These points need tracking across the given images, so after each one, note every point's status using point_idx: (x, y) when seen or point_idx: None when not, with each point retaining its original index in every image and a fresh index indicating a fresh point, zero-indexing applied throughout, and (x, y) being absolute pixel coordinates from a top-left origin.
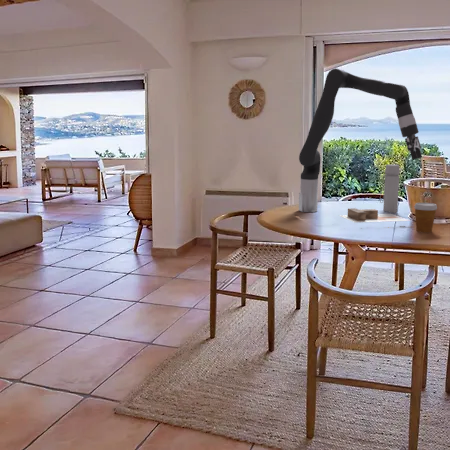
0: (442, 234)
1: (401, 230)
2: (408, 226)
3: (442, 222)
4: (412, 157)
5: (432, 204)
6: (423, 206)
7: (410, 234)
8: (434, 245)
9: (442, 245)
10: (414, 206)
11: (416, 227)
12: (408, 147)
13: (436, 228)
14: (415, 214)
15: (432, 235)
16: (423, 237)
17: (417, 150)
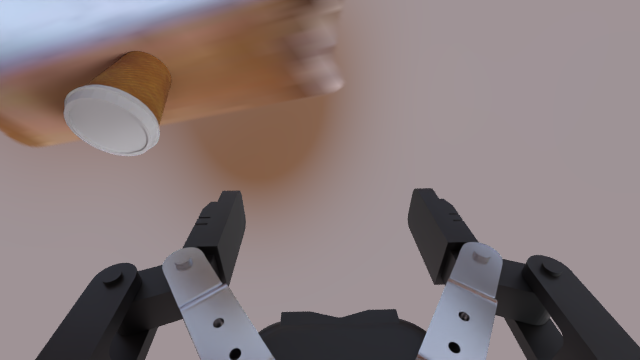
0: None
1: (81, 3)
2: (179, 3)
3: (337, 84)
4: (204, 208)
5: (144, 141)
6: (73, 128)
7: (56, 51)
8: (12, 131)
9: (35, 142)
10: (78, 89)
11: (120, 58)
12: (94, 316)
13: (222, 91)
14: (96, 77)
15: None
16: (63, 92)
17: (445, 265)
